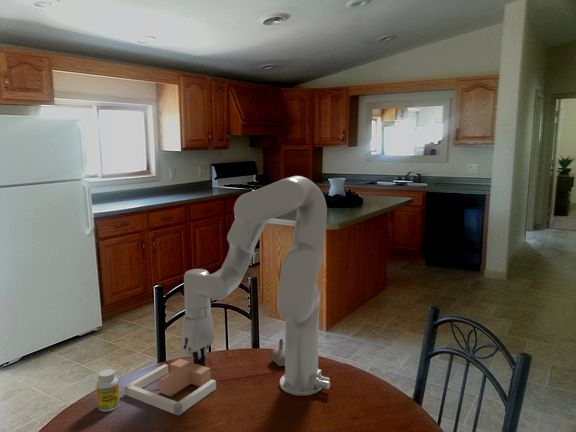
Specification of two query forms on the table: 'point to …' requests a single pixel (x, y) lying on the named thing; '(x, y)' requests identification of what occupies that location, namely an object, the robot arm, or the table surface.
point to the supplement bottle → (108, 391)
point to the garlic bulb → (278, 354)
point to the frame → (161, 402)
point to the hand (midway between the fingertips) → (199, 368)
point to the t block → (183, 377)
